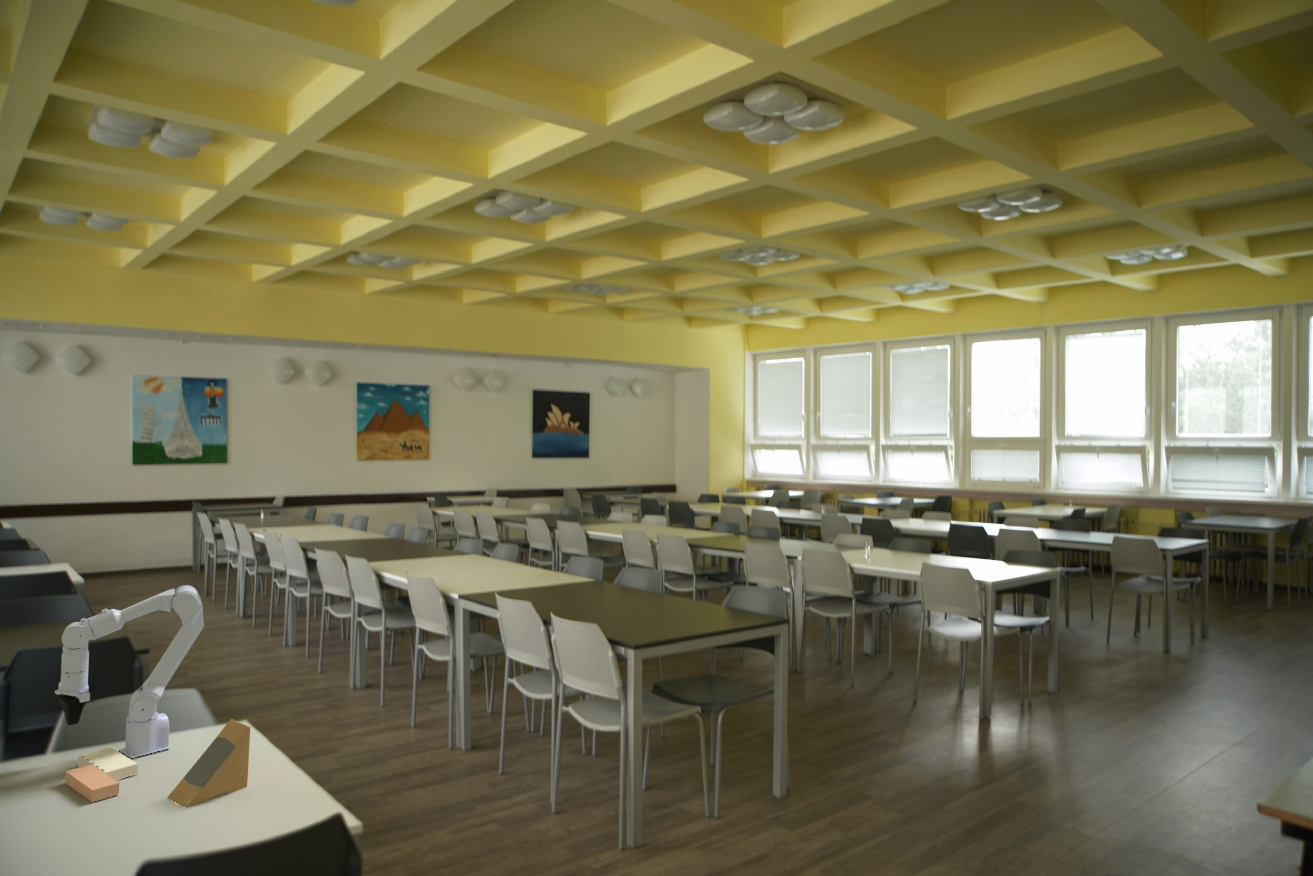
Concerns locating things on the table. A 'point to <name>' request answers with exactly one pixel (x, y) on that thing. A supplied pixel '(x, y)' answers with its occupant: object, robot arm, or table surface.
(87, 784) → the block
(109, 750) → the board
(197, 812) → the table surface
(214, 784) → the sandwich container
